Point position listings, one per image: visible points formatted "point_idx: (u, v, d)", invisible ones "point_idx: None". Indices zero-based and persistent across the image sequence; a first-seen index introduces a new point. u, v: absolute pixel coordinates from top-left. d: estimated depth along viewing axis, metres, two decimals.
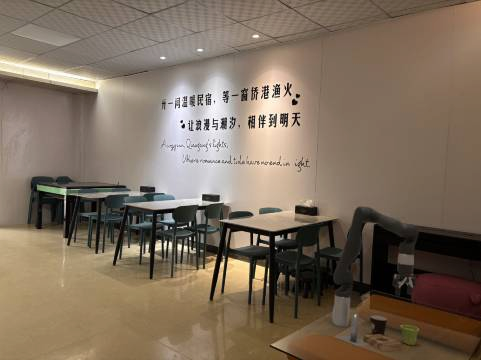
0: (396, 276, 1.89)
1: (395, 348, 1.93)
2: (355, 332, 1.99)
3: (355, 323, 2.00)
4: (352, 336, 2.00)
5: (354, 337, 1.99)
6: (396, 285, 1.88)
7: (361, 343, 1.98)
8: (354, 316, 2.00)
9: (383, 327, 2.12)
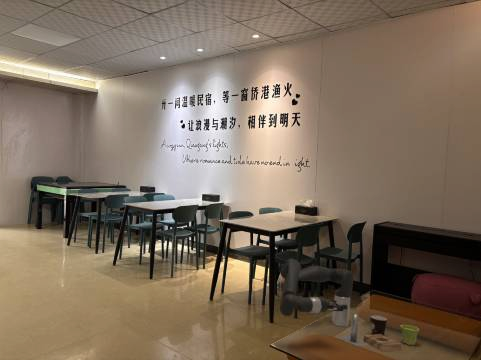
0: (335, 307, 1.87)
1: (395, 348, 1.93)
2: (355, 332, 1.99)
3: (355, 323, 2.00)
4: (352, 336, 2.00)
5: (354, 337, 1.99)
6: (342, 306, 1.88)
7: (361, 343, 1.98)
8: (354, 316, 2.00)
9: (383, 327, 2.12)
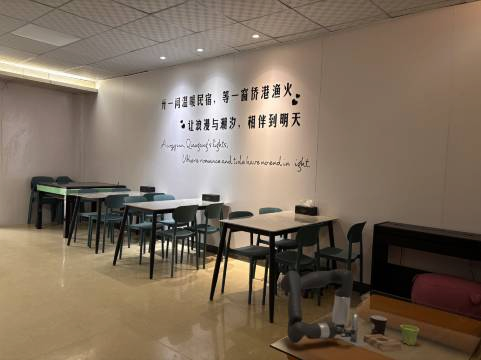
0: (343, 333, 1.88)
1: (395, 348, 1.93)
2: (355, 332, 1.99)
3: (355, 323, 2.00)
4: (352, 336, 2.00)
5: (354, 337, 1.99)
6: (350, 331, 1.90)
7: (361, 343, 1.98)
8: (354, 316, 2.00)
9: (383, 327, 2.12)
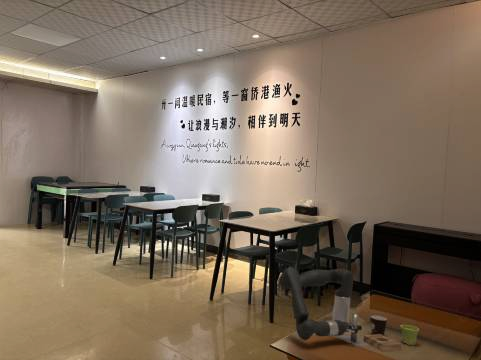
0: (354, 330, 1.93)
1: (395, 348, 1.93)
2: None
3: (355, 323, 2.00)
4: (352, 336, 2.00)
5: (354, 337, 1.99)
6: (357, 327, 1.96)
7: (361, 343, 1.98)
8: (354, 316, 2.00)
9: (383, 327, 2.12)
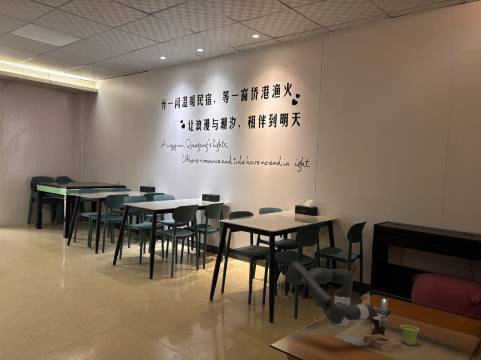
0: (384, 314, 1.91)
1: (395, 348, 1.93)
2: None
3: (384, 308, 1.98)
4: (381, 321, 1.98)
5: (383, 322, 1.98)
6: (387, 312, 1.95)
7: (361, 343, 1.98)
8: (383, 301, 1.99)
9: (383, 327, 2.12)
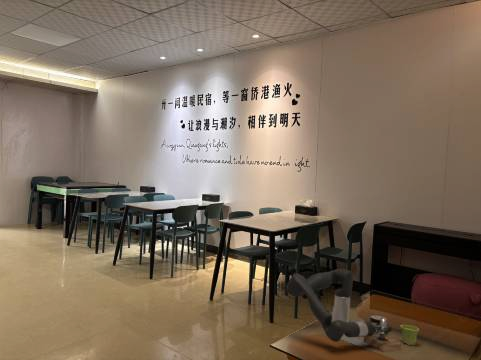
0: (383, 331, 1.90)
1: (395, 348, 1.93)
2: (383, 337, 1.97)
3: None
4: None
5: None
6: (387, 329, 1.93)
7: (361, 343, 1.98)
8: (383, 320, 1.98)
9: None
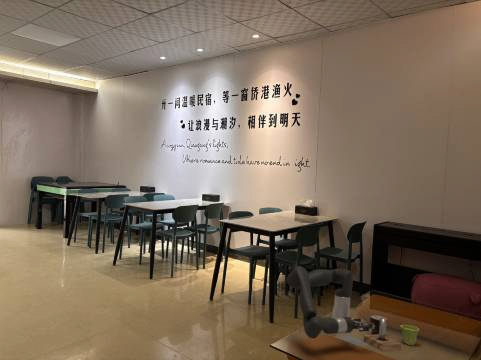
0: (361, 327, 1.84)
1: (395, 348, 1.93)
2: (383, 337, 1.97)
3: (383, 328, 1.97)
4: None
5: None
6: (368, 326, 1.86)
7: (361, 343, 1.98)
8: (382, 320, 1.98)
9: None
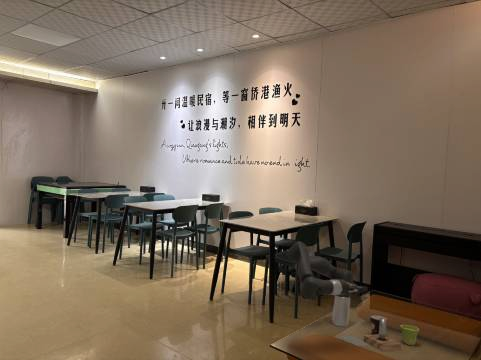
0: (356, 289, 1.87)
1: (395, 348, 1.93)
2: (383, 337, 1.97)
3: (383, 328, 1.97)
4: None
5: None
6: (363, 288, 1.89)
7: (361, 343, 1.98)
8: (382, 321, 1.98)
9: None
